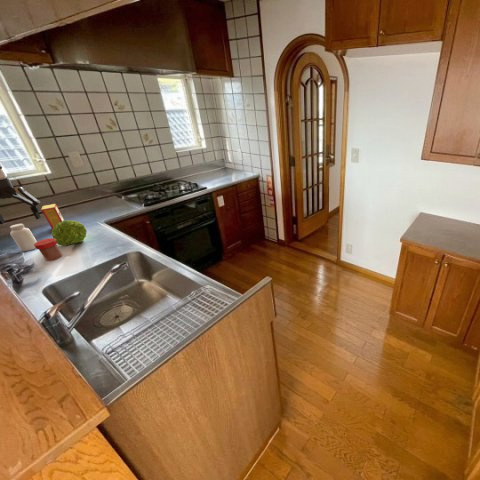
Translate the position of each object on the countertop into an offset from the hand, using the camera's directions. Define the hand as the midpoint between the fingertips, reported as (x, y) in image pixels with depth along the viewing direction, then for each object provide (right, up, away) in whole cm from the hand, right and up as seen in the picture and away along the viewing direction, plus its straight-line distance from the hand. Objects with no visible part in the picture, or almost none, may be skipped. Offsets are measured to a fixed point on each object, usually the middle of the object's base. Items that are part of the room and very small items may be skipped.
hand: (21, 220), depth 132 cm
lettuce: (-2, -11, +31) cm, 33 cm away
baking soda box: (-31, -1, +51) cm, 60 cm away
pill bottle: (-23, -15, +25) cm, 37 cm away
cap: (+6, -11, +6) cm, 14 cm away
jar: (+6, -21, +11) cm, 25 cm away
